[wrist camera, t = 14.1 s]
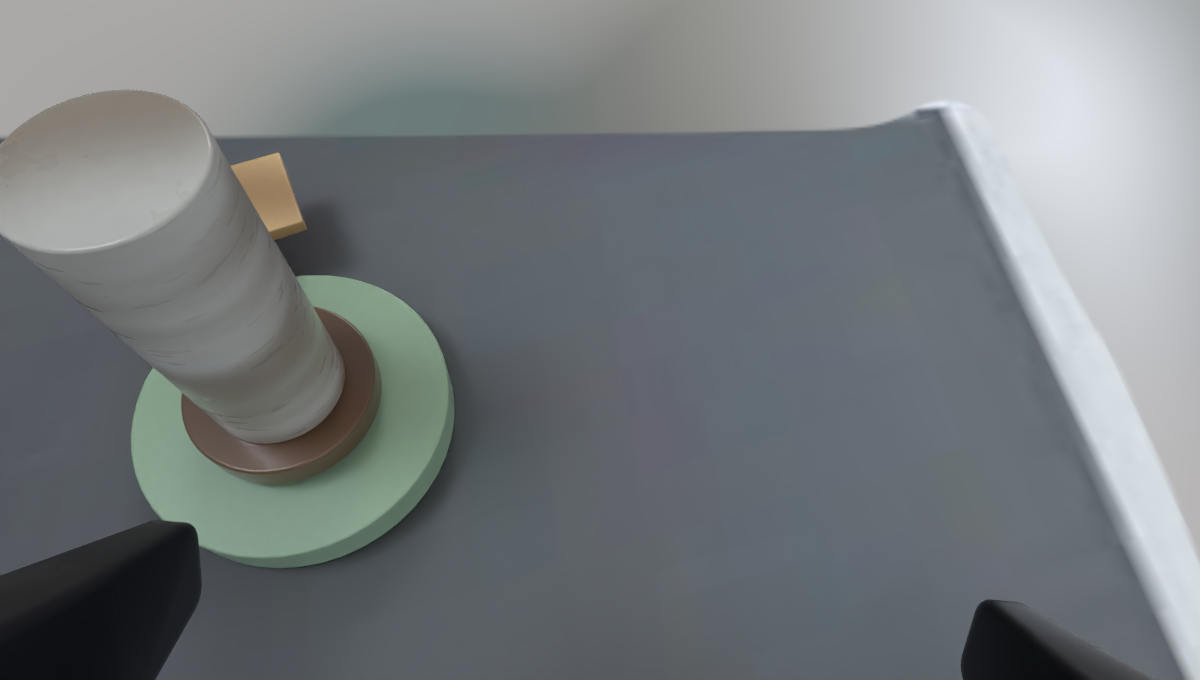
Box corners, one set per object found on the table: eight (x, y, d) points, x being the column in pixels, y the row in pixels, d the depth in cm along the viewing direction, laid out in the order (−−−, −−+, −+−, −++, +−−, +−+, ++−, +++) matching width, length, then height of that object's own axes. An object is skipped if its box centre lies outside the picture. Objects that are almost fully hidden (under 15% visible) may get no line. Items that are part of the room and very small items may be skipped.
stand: (388, 606, 19) (376, 599, 18) (93, 520, 20) (61, 506, 19) (493, 335, 24) (489, 313, 22) (247, 271, 24) (229, 245, 23)
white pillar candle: (405, 439, 20) (294, 230, 11) (216, 515, 19) (-73, 344, 10) (303, 161, 24) (168, -139, 16) (146, 207, 23) (-95, -94, 15)
